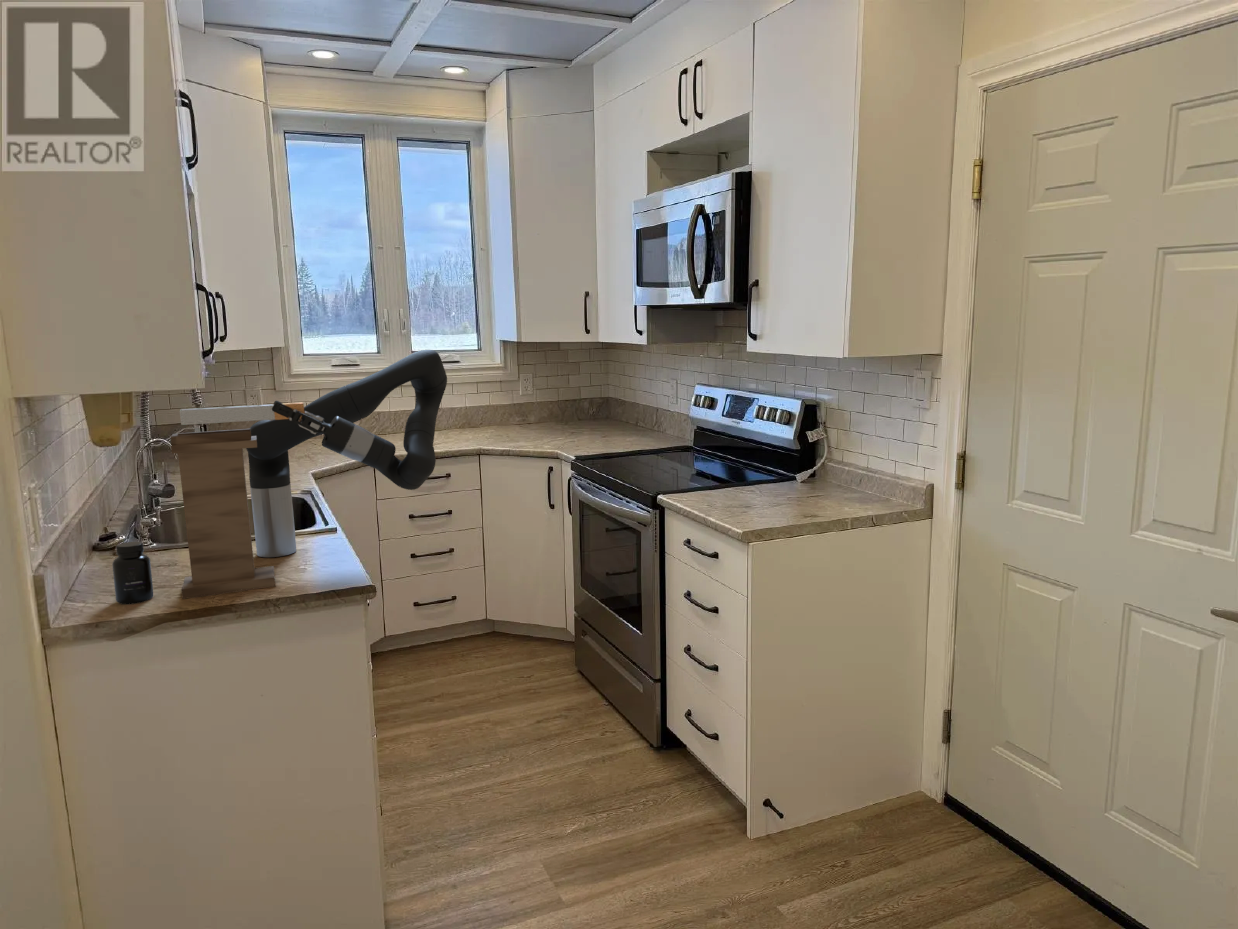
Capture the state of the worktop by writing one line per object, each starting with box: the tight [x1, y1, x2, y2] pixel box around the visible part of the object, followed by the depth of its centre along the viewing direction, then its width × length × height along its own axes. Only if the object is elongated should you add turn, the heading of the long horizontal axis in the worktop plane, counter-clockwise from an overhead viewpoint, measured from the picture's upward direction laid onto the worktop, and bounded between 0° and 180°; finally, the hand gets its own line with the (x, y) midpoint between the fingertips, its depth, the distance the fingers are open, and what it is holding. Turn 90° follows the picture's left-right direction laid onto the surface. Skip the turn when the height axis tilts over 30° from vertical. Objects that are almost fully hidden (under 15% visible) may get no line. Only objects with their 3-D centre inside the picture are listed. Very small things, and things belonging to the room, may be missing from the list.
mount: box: [170, 428, 276, 600], centre depth 178 cm, size 10×18×34 cm, turn 114°
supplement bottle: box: [111, 541, 154, 605], centre depth 172 cm, size 7×7×12 cm
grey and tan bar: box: [179, 402, 305, 426], centre depth 177 cm, size 3×24×3 cm, turn 114°
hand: (273, 405), depth 179 cm, fingers closed on grey and tan bar, 3 cm apart
